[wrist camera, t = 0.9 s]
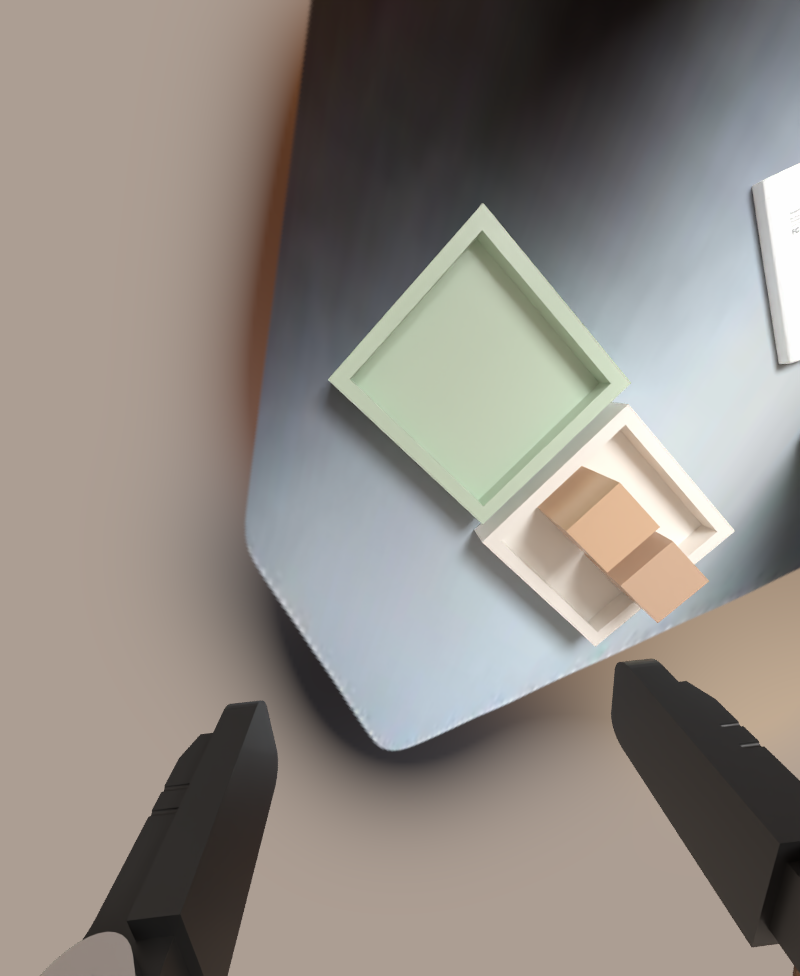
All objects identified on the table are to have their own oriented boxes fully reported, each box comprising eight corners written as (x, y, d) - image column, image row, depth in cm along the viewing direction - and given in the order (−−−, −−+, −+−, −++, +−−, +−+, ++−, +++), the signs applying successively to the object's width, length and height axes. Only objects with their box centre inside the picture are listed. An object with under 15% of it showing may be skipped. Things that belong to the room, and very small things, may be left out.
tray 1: (473, 218, 26) (483, 202, 23) (610, 382, 29) (631, 383, 27) (332, 379, 28) (327, 379, 26) (474, 513, 31) (482, 524, 29)
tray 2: (607, 401, 29) (628, 404, 27) (708, 519, 33) (734, 531, 30) (474, 529, 32) (482, 542, 29) (580, 628, 35) (595, 646, 33)
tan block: (627, 515, 31) (672, 541, 26) (659, 550, 32) (709, 581, 27) (583, 553, 32) (620, 585, 27) (616, 586, 33) (657, 623, 28)
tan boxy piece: (580, 465, 30) (619, 482, 25) (616, 503, 31) (660, 527, 26) (536, 506, 30) (566, 531, 26) (572, 542, 31) (607, 572, 27)
